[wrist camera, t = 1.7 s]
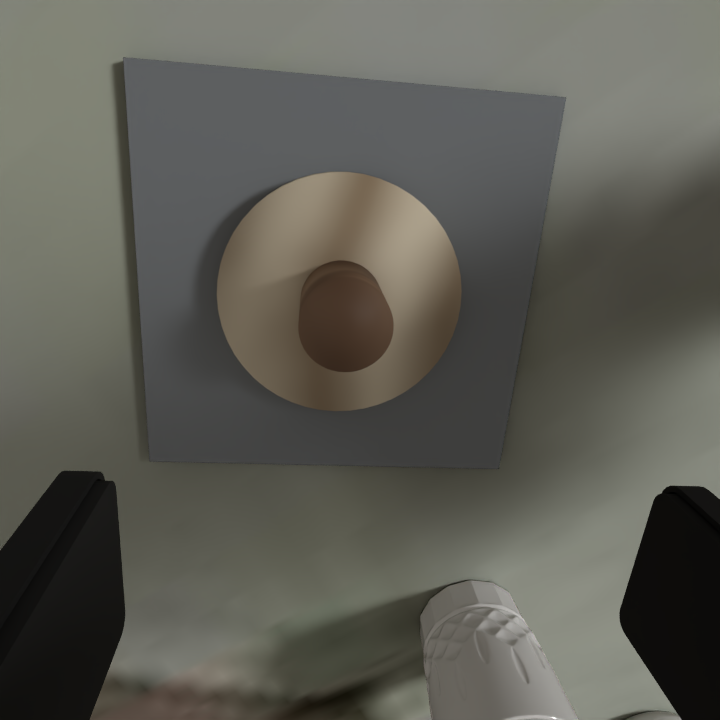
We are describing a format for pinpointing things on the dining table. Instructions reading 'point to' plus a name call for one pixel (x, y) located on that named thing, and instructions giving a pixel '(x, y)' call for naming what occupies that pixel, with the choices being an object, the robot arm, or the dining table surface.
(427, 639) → the white cup
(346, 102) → the mat
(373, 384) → the lid
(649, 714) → the alcohol
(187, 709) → the dining table surface
